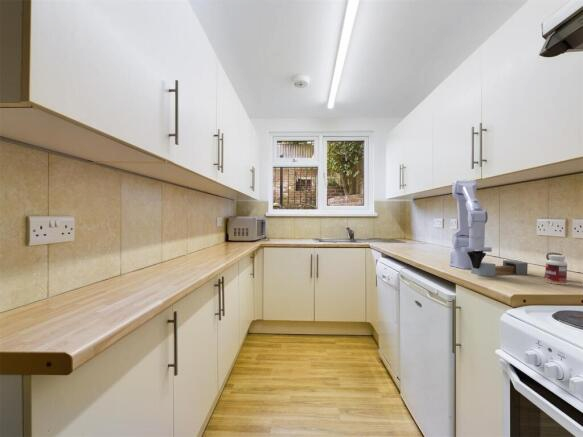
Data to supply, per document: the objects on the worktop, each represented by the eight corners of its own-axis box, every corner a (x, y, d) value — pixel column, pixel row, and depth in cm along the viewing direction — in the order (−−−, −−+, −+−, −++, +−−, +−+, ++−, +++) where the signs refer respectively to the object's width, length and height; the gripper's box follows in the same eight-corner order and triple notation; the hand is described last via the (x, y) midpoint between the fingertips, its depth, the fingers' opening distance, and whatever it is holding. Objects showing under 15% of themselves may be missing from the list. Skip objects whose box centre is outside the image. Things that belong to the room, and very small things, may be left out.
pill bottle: (540, 281, 114) (541, 254, 114) (556, 281, 114) (557, 254, 114) (554, 285, 108) (555, 256, 108) (571, 285, 108) (572, 256, 108)
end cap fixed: (502, 271, 133) (502, 260, 133) (511, 271, 134) (511, 260, 134) (518, 274, 126) (518, 263, 126) (527, 274, 127) (527, 262, 127)
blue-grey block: (471, 272, 129) (471, 261, 129) (480, 272, 130) (480, 261, 130) (485, 276, 122) (486, 264, 122) (495, 276, 123) (495, 264, 123)
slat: (480, 274, 128) (481, 266, 127) (508, 273, 131) (509, 265, 131) (487, 275, 124) (487, 268, 124) (515, 274, 128) (515, 266, 128)
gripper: (470, 238, 119) (470, 270, 119) (498, 238, 122) (497, 269, 123) (457, 237, 126) (456, 267, 126) (484, 236, 129) (483, 266, 130)
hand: (475, 268), depth 125 cm, fingers closed
